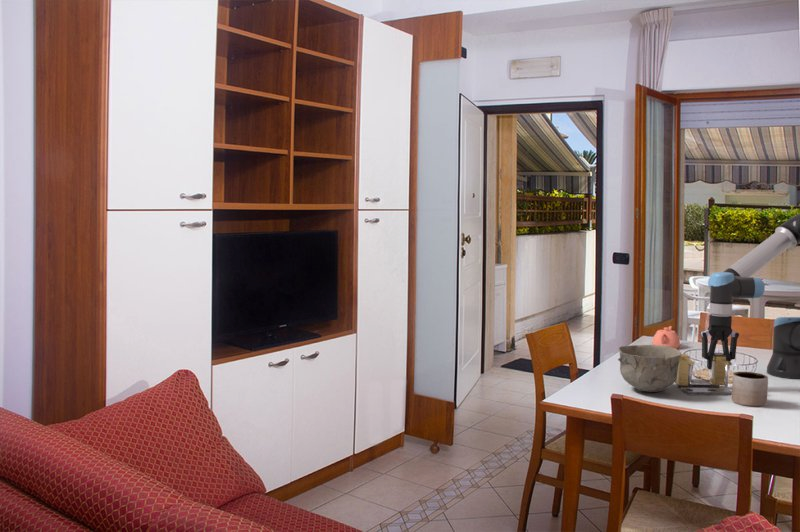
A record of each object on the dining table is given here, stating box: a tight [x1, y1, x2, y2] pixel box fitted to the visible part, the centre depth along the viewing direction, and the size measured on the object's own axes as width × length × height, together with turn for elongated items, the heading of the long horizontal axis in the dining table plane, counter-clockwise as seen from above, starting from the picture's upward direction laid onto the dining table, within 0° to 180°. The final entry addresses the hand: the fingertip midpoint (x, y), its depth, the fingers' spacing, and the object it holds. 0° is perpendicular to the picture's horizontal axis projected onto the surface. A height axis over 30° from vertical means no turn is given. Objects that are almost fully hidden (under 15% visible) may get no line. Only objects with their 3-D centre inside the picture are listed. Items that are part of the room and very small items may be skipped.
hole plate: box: [681, 387, 732, 396], centre depth 255 cm, size 16×6×1 cm, turn 89°
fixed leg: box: [674, 353, 695, 387], centre depth 259 cm, size 4×12×11 cm, turn 179°
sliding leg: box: [709, 352, 733, 388], centre depth 259 cm, size 4×12×11 cm, turn 179°
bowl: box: [617, 344, 683, 393], centre depth 257 cm, size 22×22×15 cm
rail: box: [675, 382, 721, 389], centre depth 263 cm, size 15×2×1 cm, turn 89°
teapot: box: [651, 325, 681, 350], centre depth 336 cm, size 12×18×10 cm
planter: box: [730, 371, 769, 408], centre depth 243 cm, size 11×11×10 cm
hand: (717, 377), depth 263 cm, fingers open, 4 cm apart
